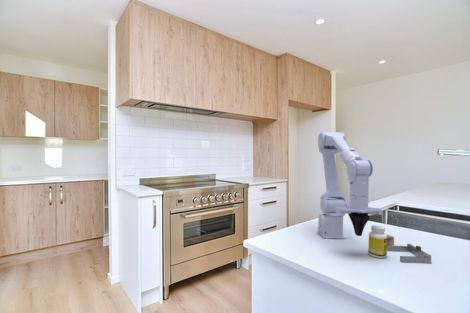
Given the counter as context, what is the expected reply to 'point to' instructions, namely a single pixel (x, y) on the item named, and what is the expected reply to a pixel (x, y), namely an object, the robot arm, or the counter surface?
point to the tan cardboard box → (390, 240)
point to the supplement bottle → (377, 242)
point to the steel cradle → (419, 254)
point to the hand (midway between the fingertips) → (358, 235)
